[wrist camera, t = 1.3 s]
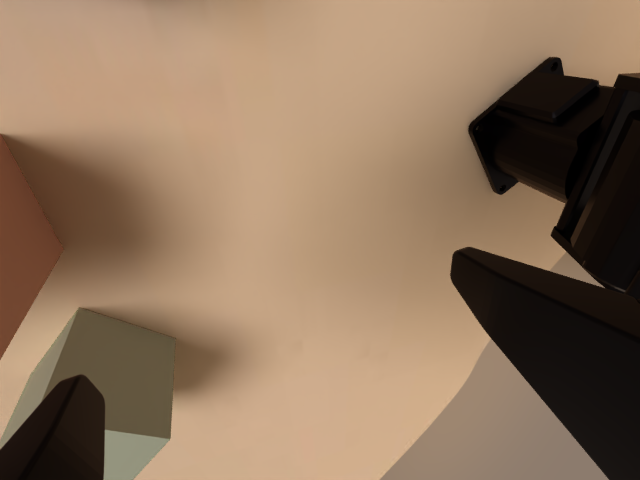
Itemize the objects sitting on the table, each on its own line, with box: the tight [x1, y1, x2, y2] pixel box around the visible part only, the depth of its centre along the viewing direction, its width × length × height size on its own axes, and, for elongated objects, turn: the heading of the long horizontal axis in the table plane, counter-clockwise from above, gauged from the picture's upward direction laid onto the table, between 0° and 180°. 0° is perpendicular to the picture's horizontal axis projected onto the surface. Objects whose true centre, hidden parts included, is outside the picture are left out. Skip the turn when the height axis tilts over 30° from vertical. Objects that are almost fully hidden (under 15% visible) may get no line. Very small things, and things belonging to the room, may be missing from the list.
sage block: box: [0, 308, 176, 480], centre depth 19 cm, size 6×6×7 cm
